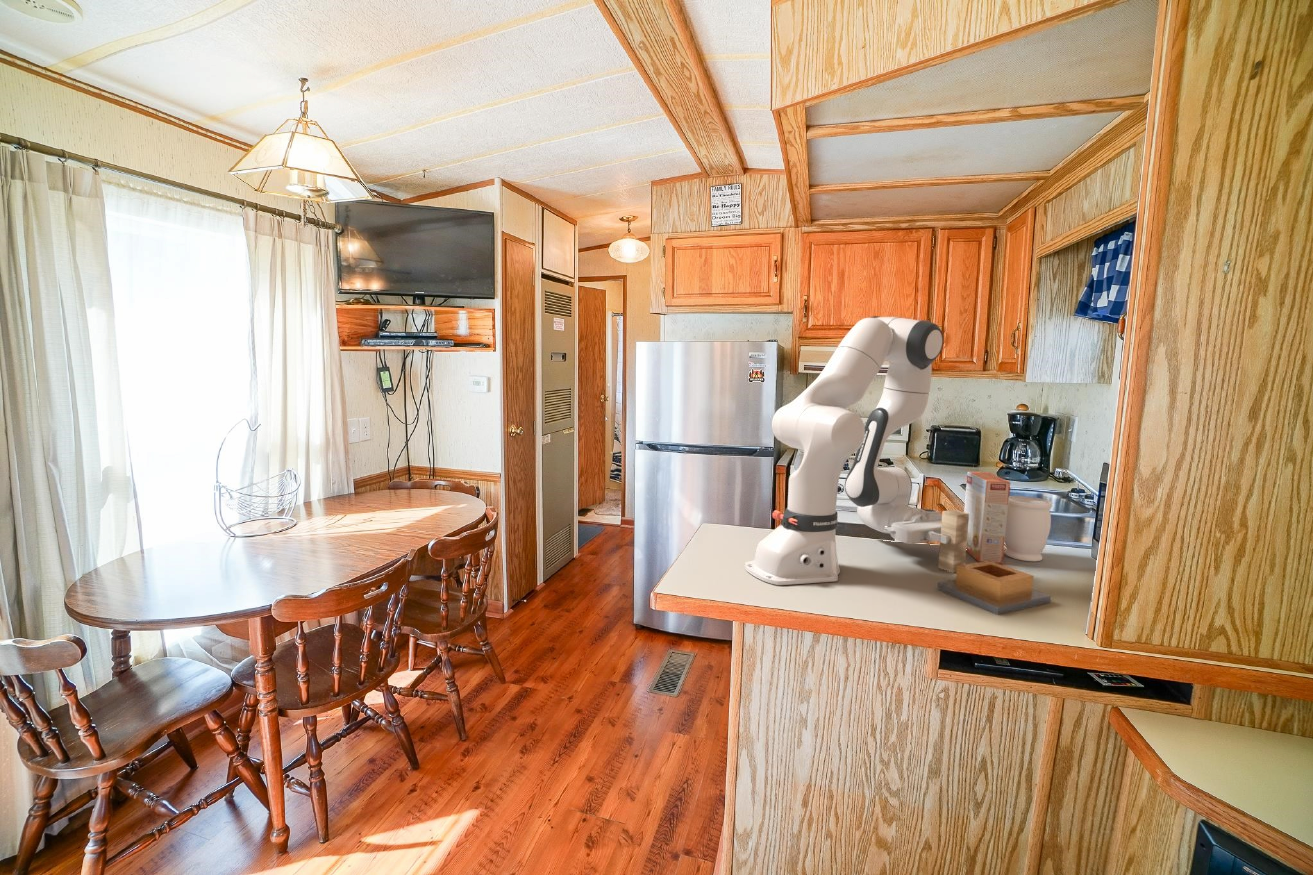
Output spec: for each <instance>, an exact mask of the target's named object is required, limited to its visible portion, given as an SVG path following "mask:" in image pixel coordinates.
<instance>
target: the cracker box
mask: <svg viewBox="0 0 1313 875" xmlns="http://www.w3.org/2000/svg"><path fill="white" fill-rule="evenodd" d="M965 486H966V487H965V498H964V507H963V508H964V510H963V512H965V513H969V522H968V534H967V546H966V549H967V550H966V553H968V554H969V555H971V556H972V557H973V558H974V559H975V560H976V561H977V562H984V561H992V562H995V563H998V564H1000V565H1003V560H1004V551H1005V532H1006V522H1007V512H1008V503H1009V496H1010V491H1011V490H1010V489H1011V481H1009V480H1006V479H1004V478H1002V477H1000V476H998V475H996V474H993V473H991V472H987V471H967V474H966V484H965Z"/></svg>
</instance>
